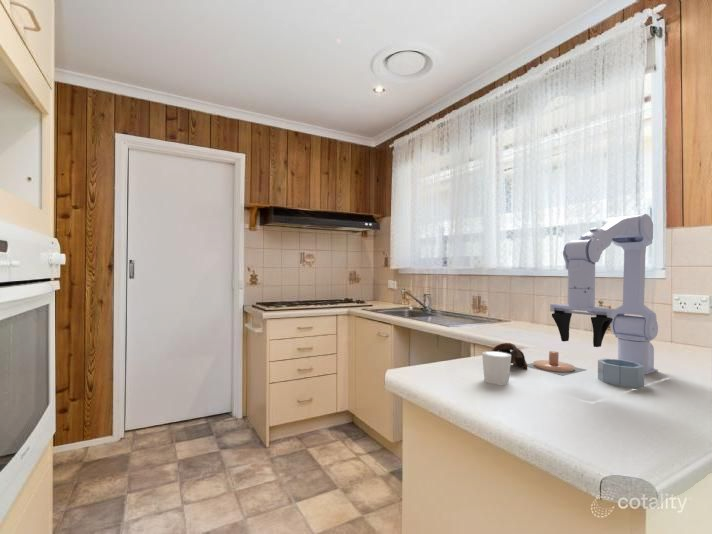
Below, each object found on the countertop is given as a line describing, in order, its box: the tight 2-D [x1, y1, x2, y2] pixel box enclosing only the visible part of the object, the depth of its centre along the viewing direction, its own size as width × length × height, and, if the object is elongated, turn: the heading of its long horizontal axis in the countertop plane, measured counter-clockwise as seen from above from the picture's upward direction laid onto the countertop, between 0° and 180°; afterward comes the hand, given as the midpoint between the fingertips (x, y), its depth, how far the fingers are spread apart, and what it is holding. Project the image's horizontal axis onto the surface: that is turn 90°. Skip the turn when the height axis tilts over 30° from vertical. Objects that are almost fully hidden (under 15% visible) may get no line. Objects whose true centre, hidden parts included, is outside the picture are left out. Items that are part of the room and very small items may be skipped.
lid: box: [533, 350, 576, 372], centre depth 106 cm, size 10×10×4 cm
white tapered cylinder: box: [481, 350, 512, 385], centre depth 93 cm, size 7×7×7 cm
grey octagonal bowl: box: [597, 358, 645, 390], centre depth 93 cm, size 9×9×5 cm
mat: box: [527, 362, 587, 376], centre depth 106 cm, size 12×12×1 cm
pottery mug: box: [490, 342, 528, 370], centre depth 106 cm, size 12×10×8 cm
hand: (580, 343), depth 91 cm, fingers open, 7 cm apart
